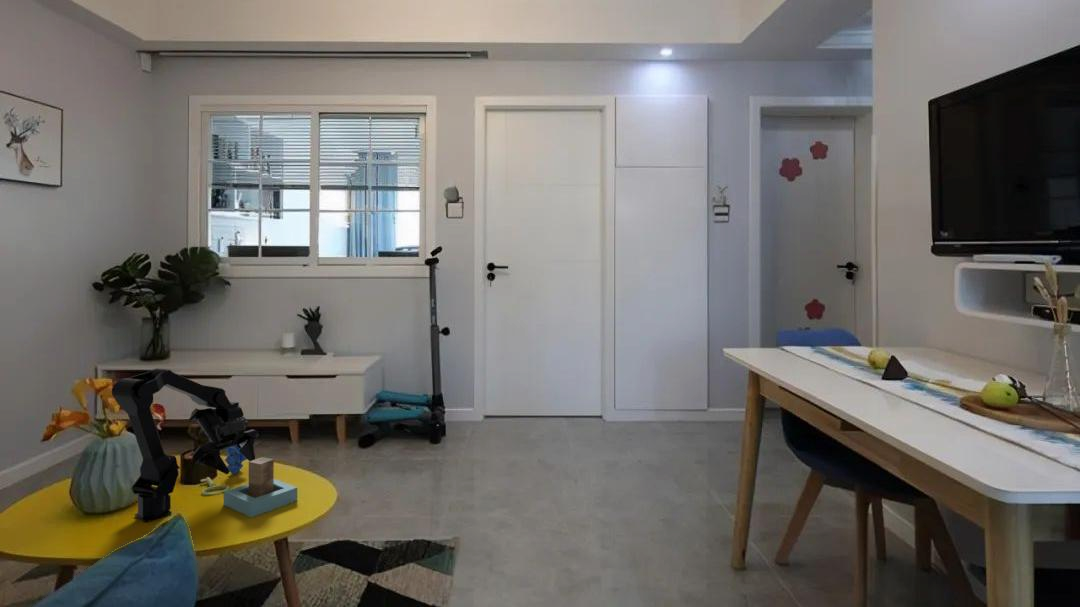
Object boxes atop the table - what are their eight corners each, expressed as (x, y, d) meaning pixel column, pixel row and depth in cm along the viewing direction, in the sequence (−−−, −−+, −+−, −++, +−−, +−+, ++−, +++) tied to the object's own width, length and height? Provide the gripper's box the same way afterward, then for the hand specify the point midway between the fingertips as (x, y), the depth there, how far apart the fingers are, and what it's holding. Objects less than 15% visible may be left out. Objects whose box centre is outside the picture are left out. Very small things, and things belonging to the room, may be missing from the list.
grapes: (243, 480, 177) (243, 443, 177) (220, 481, 176) (220, 444, 175) (254, 467, 189) (254, 433, 188) (233, 468, 187) (233, 433, 187)
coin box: (251, 517, 151) (251, 503, 151) (223, 504, 159) (223, 491, 158) (297, 500, 163) (297, 487, 163) (269, 489, 171) (269, 476, 170)
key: (208, 482, 175) (208, 476, 175) (232, 491, 170) (232, 484, 170) (185, 490, 169) (185, 483, 169) (208, 499, 163) (208, 492, 163)
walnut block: (260, 505, 158) (260, 464, 157) (248, 502, 159) (248, 461, 159) (273, 499, 162) (273, 459, 162) (261, 496, 164) (261, 457, 163)
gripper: (199, 417, 155) (228, 462, 152) (254, 403, 173) (281, 443, 169) (179, 441, 158) (207, 485, 155) (235, 425, 176) (261, 464, 173)
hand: (241, 468), depth 163 cm, fingers open, 9 cm apart
